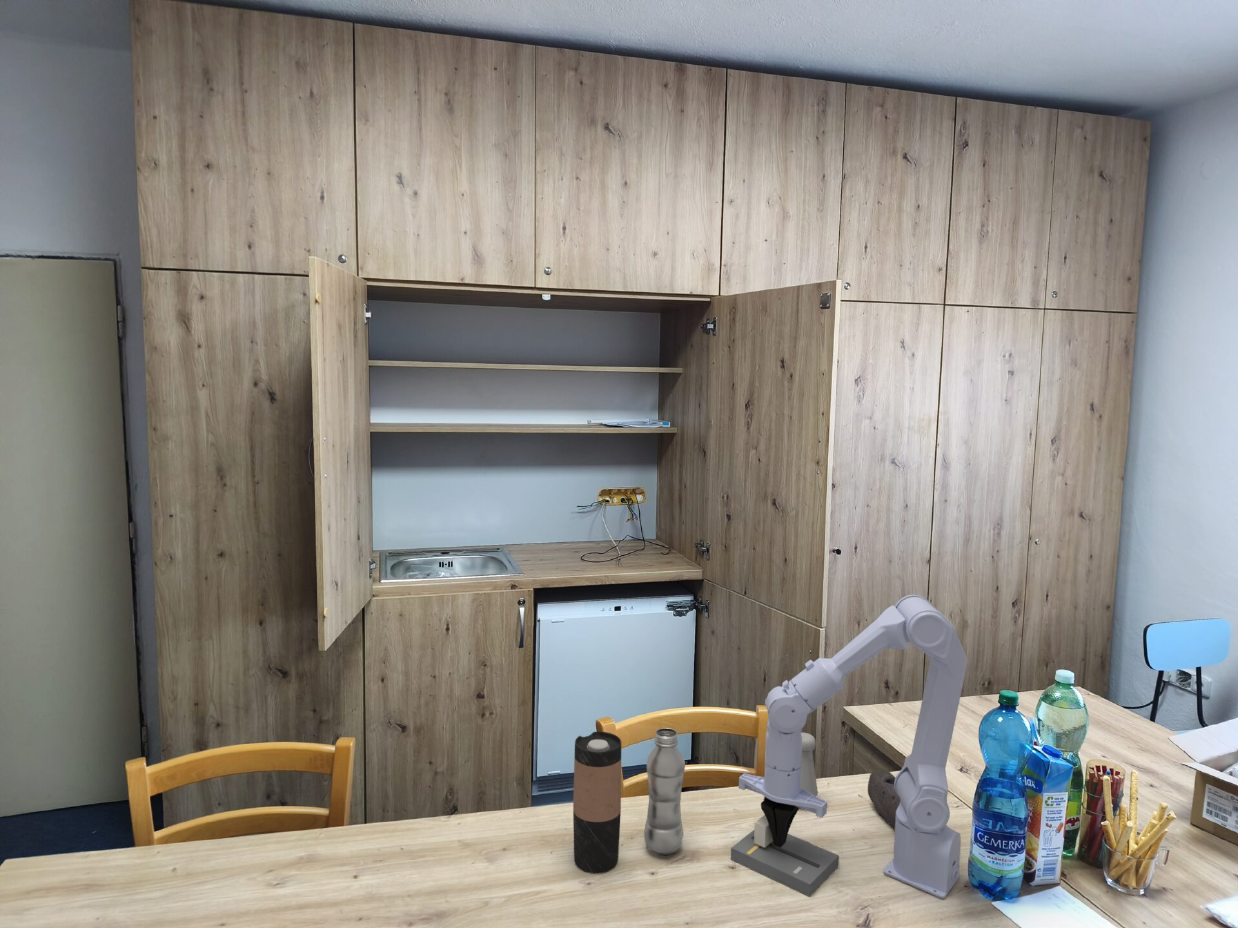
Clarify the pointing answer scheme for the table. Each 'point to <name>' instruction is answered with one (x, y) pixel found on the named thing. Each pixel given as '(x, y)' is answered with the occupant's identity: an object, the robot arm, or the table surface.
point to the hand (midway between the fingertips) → (779, 843)
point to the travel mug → (597, 801)
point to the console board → (788, 862)
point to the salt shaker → (808, 765)
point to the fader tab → (762, 832)
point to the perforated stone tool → (884, 794)
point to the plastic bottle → (664, 794)
